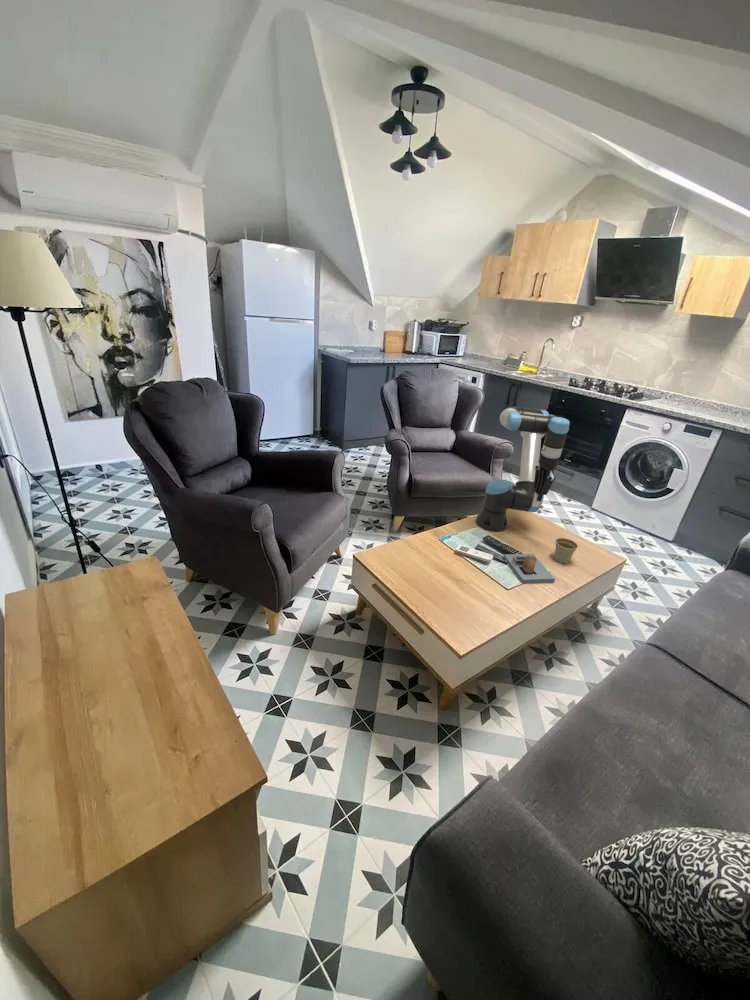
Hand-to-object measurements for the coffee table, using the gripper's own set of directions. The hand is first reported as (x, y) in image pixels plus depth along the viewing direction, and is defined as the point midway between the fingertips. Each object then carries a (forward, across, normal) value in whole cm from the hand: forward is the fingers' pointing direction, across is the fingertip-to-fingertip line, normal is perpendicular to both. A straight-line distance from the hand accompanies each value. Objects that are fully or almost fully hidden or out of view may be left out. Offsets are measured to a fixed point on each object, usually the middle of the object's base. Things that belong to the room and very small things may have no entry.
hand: (535, 506), depth 181 cm
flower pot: (+22, +9, +14) cm, 28 cm away
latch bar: (+20, +15, -8) cm, 26 cm away
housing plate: (+22, +16, -6) cm, 28 cm away
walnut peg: (+22, +20, -8) cm, 30 cm away
